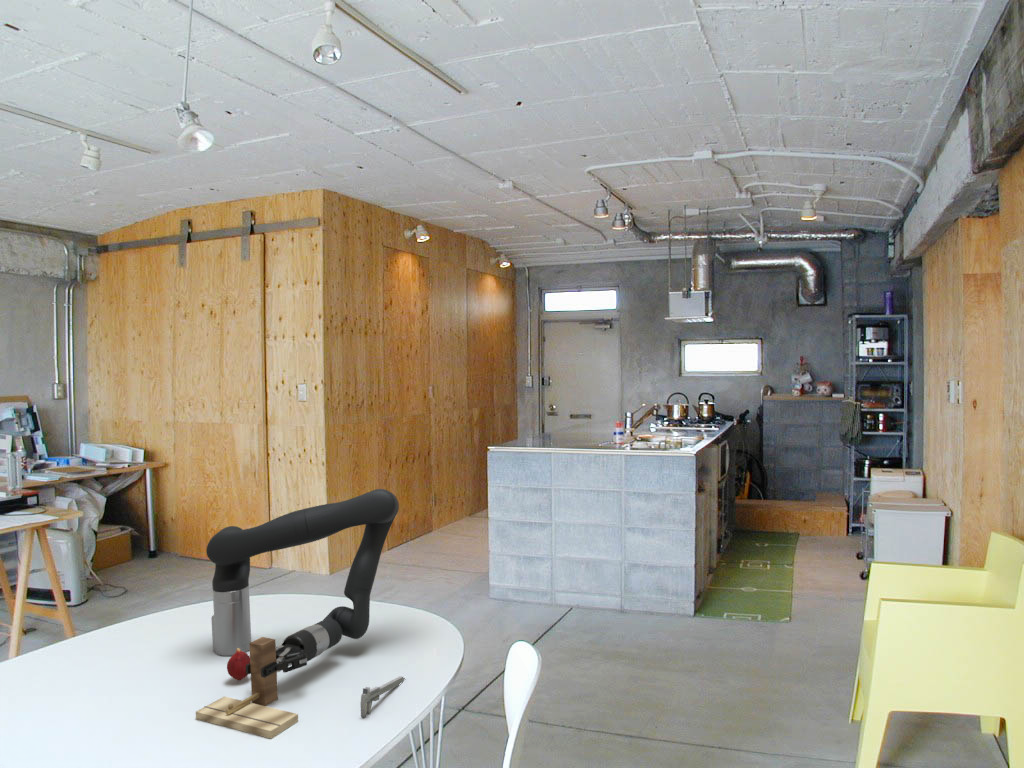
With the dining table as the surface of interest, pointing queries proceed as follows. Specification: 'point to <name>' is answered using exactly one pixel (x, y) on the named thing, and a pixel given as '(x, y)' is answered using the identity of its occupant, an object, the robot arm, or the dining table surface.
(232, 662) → the onion
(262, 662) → the block
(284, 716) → the board
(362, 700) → the caliper
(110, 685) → the dining table surface
